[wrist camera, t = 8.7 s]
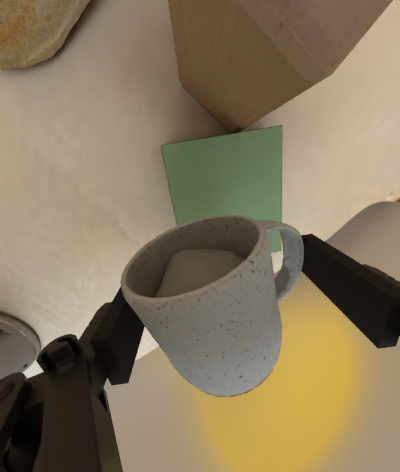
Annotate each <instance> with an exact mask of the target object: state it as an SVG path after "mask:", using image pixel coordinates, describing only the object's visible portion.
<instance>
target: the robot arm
mask: <svg viewBox="0 0 400 472" xmlns="http://www.w3.org/2000/svg"><path fill="white" fill-rule="evenodd" d="M301 237H302V240H303V244H304V261H303V266H302V270H301V271H302V272H303V273H304V274H305V275H306V276H307V277H308V278H309V279H310V280H311V281H312V282H313V283H314V284H315V285H316V286H317V287H318V288H319V289H320V290H321V291H322V292H323V293H324V294H325V295H326V296H327V297H328V298H329V299H330V300H331V301H332V302H333V303H334V304H335V305H336V306H337V307H338V308H339V309H340V310H341V311H342V312H343V313H344V314H345V316H346V317H348V318H349V319H350V321H351V322H352V323H354V324H355V326H357V328H358V329H359V330H360V331H361V332H362V333H363V334H364V335H365V336H366V337H367V338H368V339H369V340H370V341H371V342H372V343H373V344H374V345H375V346H376V347H377V348H386V347H393V346H396V344H397V341H398V338H399V336H400V282H399V281H396V280H395V279H394V278H392V277H390V276H387V274H386V273H384V272H382V271H380V270H379V269H376V268H374V267H371V266H368V265H366V264H364V265H361V264H360V263H358V262H356V261H355V260H354V259H352V258H350V257H349V256H347V255H345V254H344V253H342V252H340V251H339V250H337V249H336V248H334V247H332V246H331V245H329V244H327V243H326V242H324V241H322V240H321V239H319V238H318V237H316V236H314V235H313V234H308V235H301ZM144 327H145V325H144V324H143V323H142V321H141V320H140V318H139V317H138V315H137V314H136V313H135V311H134V310H133V309H132V308H131V306H130V305H129V304H128V302H127V301H126V299H125V297H124V295H123V292H122V288H121V287H120V289H119V291H118V293H117V294H116V296H115V298H114V300H113V301H112V302H109V303H105V304H104V305H103V306H102V307H101V308H99V309H98V310H97V312H96V314H95V315H94V317H93V319H92V320H91V321H90V323H89V326H87V328H86V329H85V331H84V332H83V334H82V336H81V337H80V339H79V340H78V339H77V337H76V336H75V335H72V334H68V335H64V336H61V337H59V338H57V339H55V340H54V341H52V342H50V343H49V344H48V345H47V346H46V347H44V348H43V350H42V351H41V352H40V349H41V346H40V341H39V339H38V337H37V335H36V334H35V333H34V331H33V330H32V329H31V328H30V327H28V326H27V325H26V324H24V323H23V322H21V321H19V320H18V319H16V318H13V317H11V316H8V315H5V314H1V313H0V472H123V471H122V466H121V461H120V457H119V451H118V447H117V442H116V437H115V433H114V428H113V423H112V418H111V414H110V409H109V404H108V400H107V395H106V392H105V390H104V388H103V387H104V385H105V382H106V379H107V377H108V379H109V381H110V383H111V385H117V384H124V383H128V382H129V378H130V375H131V372H132V368H133V365H134V361H135V358H136V354H137V351H138V347H139V344H140V341H141V337H142V334H143V330H144ZM36 358H37V360H36V361H37V362H38V364H39V365H40V366H41V368H42V369H43V371H44V372H43V373H40V374H38V375H35V376H33V377H31V378H28V379H27V378H26V376H25V375H24V374H23V373H22V372H24V371H25V370H26V369H27V368H28V367H29V366H30V365H31V364H32V363H33V362H34V360H35V359H36Z"/></svg>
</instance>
